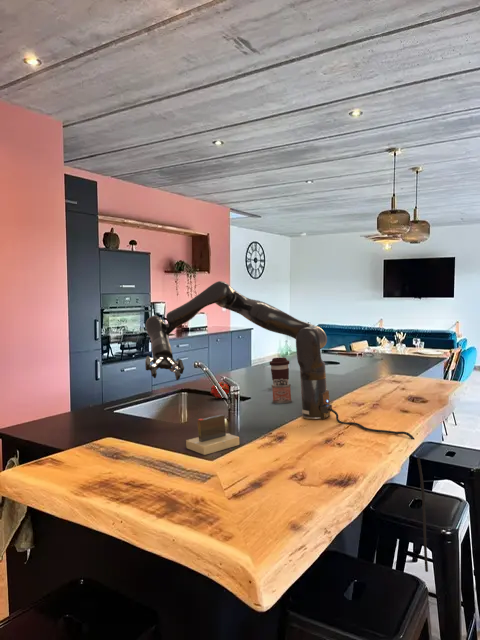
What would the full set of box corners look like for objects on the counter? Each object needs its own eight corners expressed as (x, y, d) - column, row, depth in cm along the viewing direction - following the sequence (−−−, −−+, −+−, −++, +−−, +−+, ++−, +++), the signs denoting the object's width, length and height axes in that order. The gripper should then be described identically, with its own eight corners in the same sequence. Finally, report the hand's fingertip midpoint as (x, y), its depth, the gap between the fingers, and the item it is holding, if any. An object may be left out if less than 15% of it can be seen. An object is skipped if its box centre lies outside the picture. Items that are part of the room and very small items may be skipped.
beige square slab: (218, 438, 158) (217, 429, 158) (243, 445, 148) (242, 437, 147) (183, 447, 150) (182, 438, 150) (207, 456, 139) (206, 447, 139)
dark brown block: (222, 434, 152) (221, 413, 152) (225, 435, 151) (224, 414, 150) (198, 441, 146) (197, 419, 146) (201, 442, 145) (200, 419, 145)
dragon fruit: (211, 400, 228) (232, 405, 222) (203, 393, 222) (225, 398, 216) (218, 384, 232) (239, 389, 226) (210, 376, 225) (232, 381, 219)
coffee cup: (283, 390, 234) (281, 359, 234) (267, 389, 241) (265, 359, 241) (294, 386, 242) (293, 357, 241) (279, 385, 248) (277, 356, 248)
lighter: (291, 400, 209) (290, 377, 209) (291, 402, 205) (290, 379, 205) (272, 401, 210) (271, 378, 209) (272, 403, 206) (271, 380, 206)
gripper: (145, 341, 186) (149, 367, 173) (181, 345, 191) (188, 371, 178) (141, 356, 189) (145, 383, 176) (177, 360, 194) (182, 386, 181)
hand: (166, 377), depth 177 cm, fingers open, 8 cm apart
